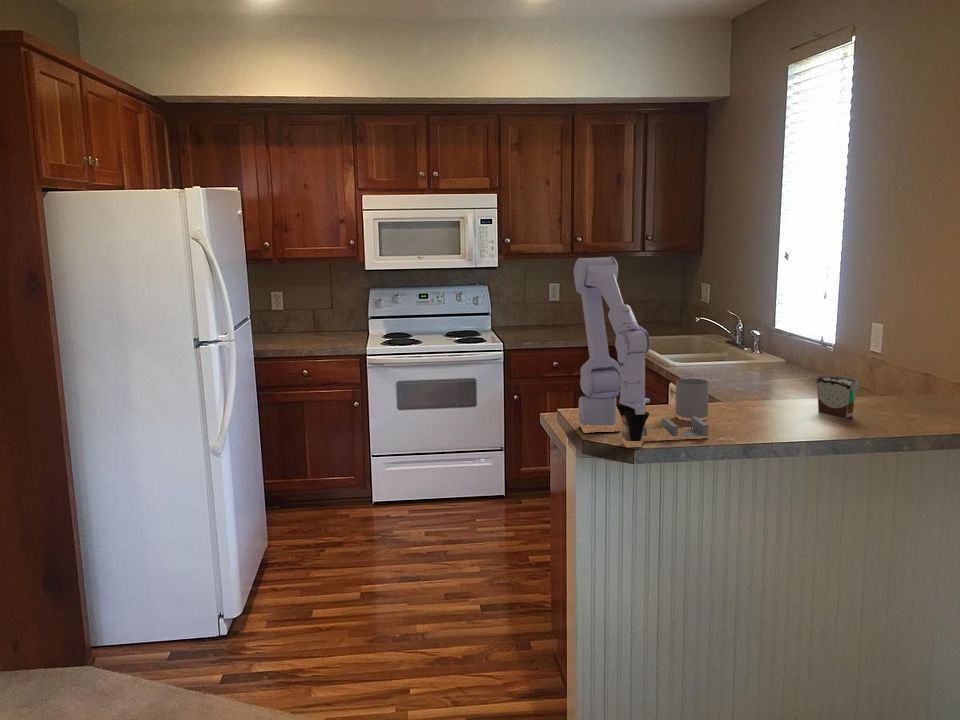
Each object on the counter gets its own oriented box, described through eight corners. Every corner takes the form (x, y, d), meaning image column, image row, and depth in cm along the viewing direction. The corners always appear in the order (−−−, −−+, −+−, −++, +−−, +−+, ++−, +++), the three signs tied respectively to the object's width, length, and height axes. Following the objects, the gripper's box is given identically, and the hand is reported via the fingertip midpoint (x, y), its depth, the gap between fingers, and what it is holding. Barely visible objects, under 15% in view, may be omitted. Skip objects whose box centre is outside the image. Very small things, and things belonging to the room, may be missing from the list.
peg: (626, 448, 182) (626, 419, 181) (622, 443, 186) (622, 415, 185) (643, 447, 182) (643, 418, 181) (639, 442, 186) (638, 414, 185)
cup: (681, 413, 214) (681, 377, 213) (711, 416, 210) (711, 379, 208) (671, 420, 207) (672, 383, 205) (702, 423, 203) (703, 385, 201)
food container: (868, 418, 202) (870, 380, 200) (850, 421, 199) (852, 383, 198) (831, 409, 213) (832, 373, 211) (814, 411, 211) (815, 375, 209)
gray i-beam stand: (642, 442, 186) (642, 427, 186) (633, 432, 195) (633, 419, 195) (707, 439, 187) (708, 424, 187) (695, 429, 196) (695, 416, 195)
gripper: (657, 386, 174) (657, 444, 177) (641, 375, 189) (641, 429, 191) (626, 387, 174) (627, 446, 176) (612, 376, 188) (613, 430, 191)
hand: (632, 437), depth 184 cm, fingers open, 5 cm apart
